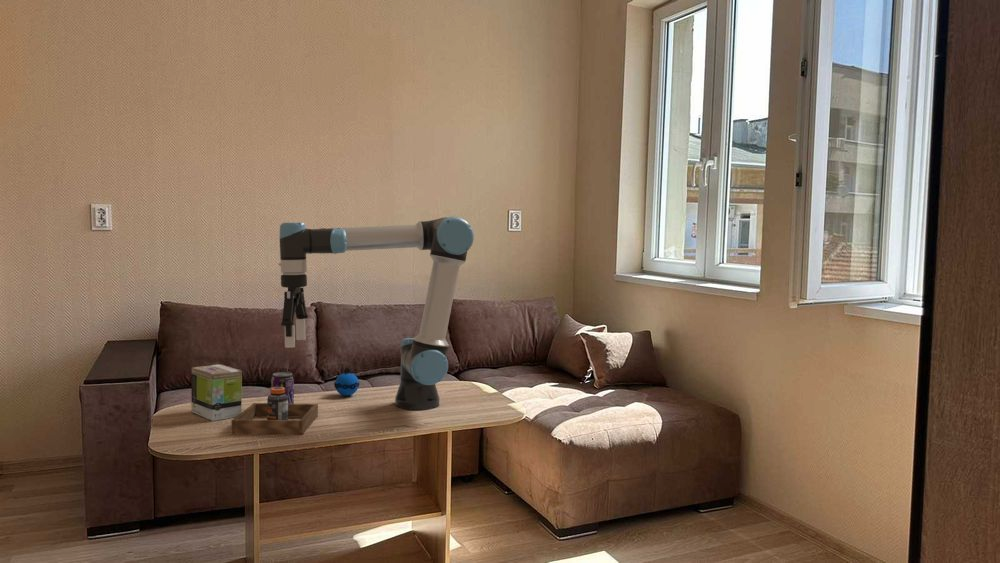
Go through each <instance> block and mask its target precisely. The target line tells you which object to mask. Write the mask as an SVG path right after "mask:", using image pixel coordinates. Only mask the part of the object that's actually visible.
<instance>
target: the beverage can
mask: <svg viewBox="0 0 1000 563" xmlns="http://www.w3.org/2000/svg"><path fill="white" fill-rule="evenodd" d="M273 387H284V388H285V393H284V394H286V395H287V396H288V404H295V402H294V401H295V400H294V399H295V397H294V396H295V391H294V390H295V379H294V377H293V373H292V372H288V371H281V372H280V371H279V372H274V373H272V377H271V379H270V389H271V388H273Z"/></svg>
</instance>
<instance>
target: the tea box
mask: <svg viewBox="0 0 1000 563" xmlns="http://www.w3.org/2000/svg"><path fill="white" fill-rule="evenodd" d="M242 374H243V372H242V370H241V369H238V368H234V367H231V366H228V365H224V364H220V363H219V364H212V365H210V364H209V365H201V366H193V367H191V377H190V378H191V396H190V398H191V402H190V404H191V406H190V407H191V413H194V414H196V415H197V416H200V417H202V418H205V419H207V420H210V421H212V422H215V421H220V420H227V419H232V418H233V419H234V418H235V417H237V416H238V415H239V414H241V413H242V412H243V411H242V410H243V409H242V407H243V405H242V402H243V400H242V397H243V396H242V393H243V392H242V391H243V389H242V388H243V385H242V383H243V375H242Z"/></svg>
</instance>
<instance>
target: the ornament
mask: <svg viewBox="0 0 1000 563" xmlns="http://www.w3.org/2000/svg"><path fill="white" fill-rule="evenodd" d="M333 385H334V388H335V390H336V391H337V392H338V394H339V395H340V396H344V397H349V396H350V397H351V396H352V395H354V394H355V393H357V391H358V388H359V386H360V381H359V378H358V377H357V375H356V374H354V373H351V372H350V369H349V368H348V367H346V368H345V369H344V372H342V373H340V374H339V375H338V376H337V378H336V379H335V381H334V384H333Z"/></svg>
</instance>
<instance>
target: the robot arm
mask: <svg viewBox="0 0 1000 563" xmlns="http://www.w3.org/2000/svg"><path fill="white" fill-rule="evenodd" d="M474 236H475V234H474V231H473V227H472V226H471V225H470V223H469V222H467V220H465V219H463V218H461V217H458V216H448V217H440V218H436V219H431V220H423V221H418V222H417V223H415V224H404V225H403V224H401V225H378V226H377V225H376V226H359V227H358V226H356V227H354V226H353V227H335V228H334V227H333V228H332V227H331V228H327V227H326V228H324V227H323V228H321V227H320V228H307V227H306V223H305V222H282V223H281V224H280V225H279V254H280V255H279V258H280V262H279V263H278V266H280V273H282V274H281V275H280V286H281V287H282V288H287V291H284V292H283V295H284V298H283V299H284V300H283V309H282V321H281V322H280V325H281V326H282V327H283V326H284V327H283V328H284V348H289V349H290V348H296V340H297V341H306V340H307V338H306V319H307V320H308V318H309V316H308V313H307V307H306V301H305V292H304V290H305V289H304V288H305V287H307V285H308V277H307V276H308V275H307V274H306V273H307V272H308V270H307V268H308V266H307V265H308V264H307V255H308V254H310V255H311V254H334V255H336V254H345V252H350V251H364V250H365V251H369V250H388V249H389V250H390V249H391V250H392V249H406V248H409V249H410V248H417V249H418V250H420V251H427V250H428V251H430V253H429V256H430V258H431V259H432V261H433V263H432V268H431V272H430V277H429V282H428V287H427V291H426V297H425V302H424V308H423V313H422V316H421V317H422V318H421V323H420V327H419V332H418V334H417V335H415V336H414V337H408V338H406V337H405V338H402V340H401V343H400V344H401V345H400V347H399V348H400V383H399V385H398V389H397V392H396V394H395V397H394V405H395V407H397V408H400V409H404V410H414V411H415V410H429V409H430V410H431V409H434V408H437V407H439V406H440V396H439V392H438V388H437V385H436V384H438V383H440V382H441V381H443V379H444V378H445V377H446V375H447V373H448V370H449V361H448V359H447V357H448V351H449V342H448V341H447V339H446V336H447V332H448V328H449V323H450V322H449V321H450V317H451V312H452V306H453V301H454V296H455V292H456V287H457V282H458V276H459V272H460V267H461V266H463V264H465V263H466V260H467V257H468V256H467V255H468V251H469V250H470V249H471V247H472V245H473V244H474V240H475V239H474V238H475V237H474ZM295 316H296V319H295ZM294 321H295V322H294ZM294 323H295V324H294ZM295 336H296V337H295ZM295 338H296V339H295Z"/></svg>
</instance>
